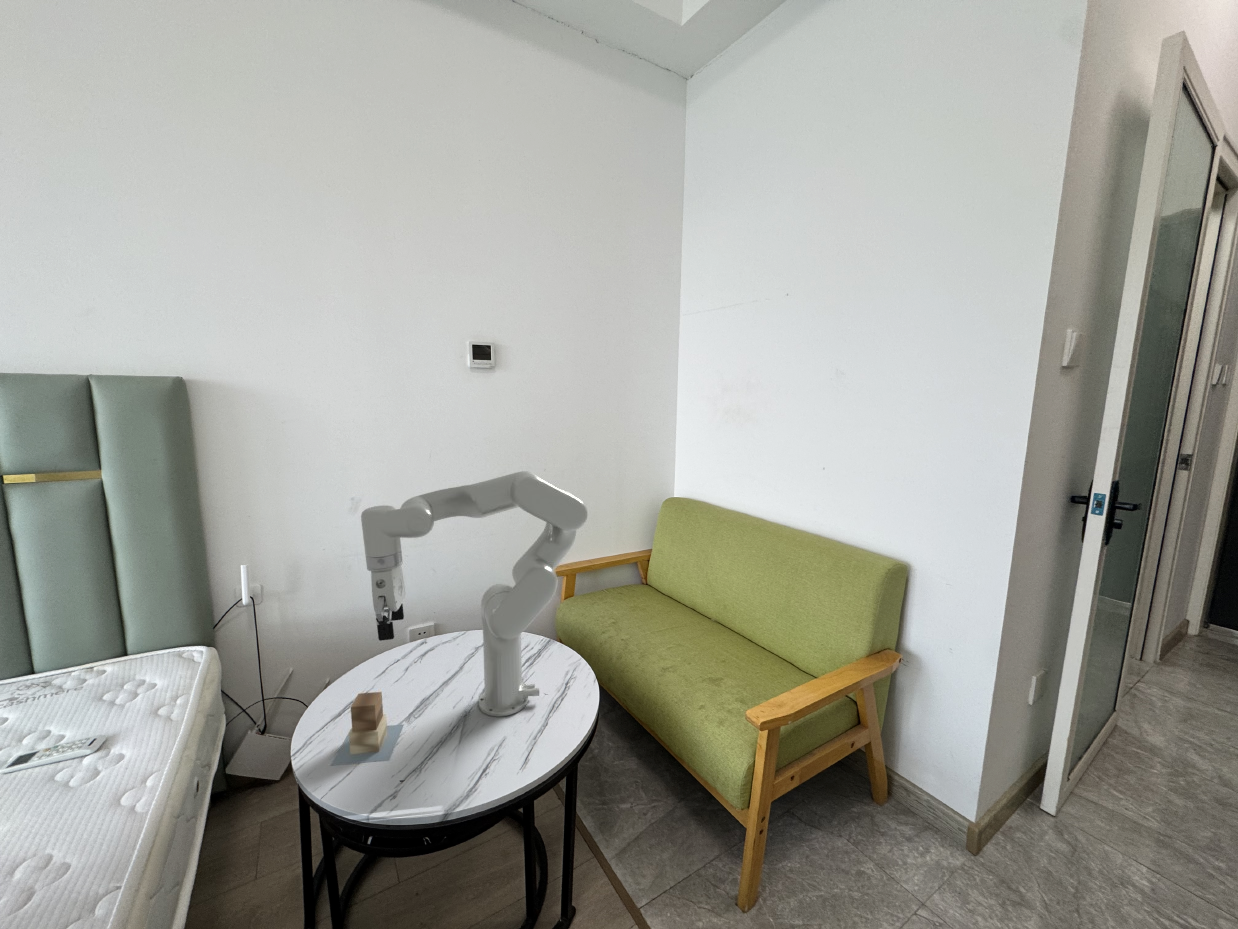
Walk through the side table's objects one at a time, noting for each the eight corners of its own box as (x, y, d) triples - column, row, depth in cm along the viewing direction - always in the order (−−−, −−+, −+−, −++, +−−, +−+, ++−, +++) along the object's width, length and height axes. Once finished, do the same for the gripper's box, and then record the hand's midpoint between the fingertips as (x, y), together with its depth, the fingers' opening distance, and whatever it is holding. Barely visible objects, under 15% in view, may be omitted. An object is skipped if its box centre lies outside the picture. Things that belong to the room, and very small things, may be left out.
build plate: (404, 726, 121) (404, 724, 121) (389, 762, 110) (389, 760, 110) (351, 731, 120) (351, 728, 120) (330, 768, 108) (330, 765, 108)
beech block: (387, 733, 118) (386, 714, 117) (379, 751, 112) (377, 731, 111) (360, 736, 117) (358, 716, 116) (350, 754, 111) (348, 733, 111)
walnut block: (383, 715, 117) (381, 691, 116) (376, 729, 112) (374, 705, 111) (360, 717, 116) (358, 693, 115) (352, 732, 111) (350, 707, 110)
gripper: (392, 571, 108) (400, 645, 111) (409, 546, 125) (416, 611, 127) (354, 575, 107) (363, 650, 109) (377, 549, 123) (384, 614, 126)
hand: (392, 629), depth 118 cm, fingers open, 9 cm apart
